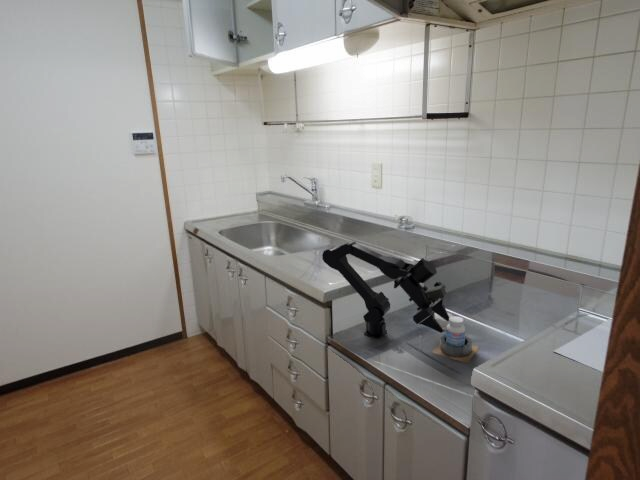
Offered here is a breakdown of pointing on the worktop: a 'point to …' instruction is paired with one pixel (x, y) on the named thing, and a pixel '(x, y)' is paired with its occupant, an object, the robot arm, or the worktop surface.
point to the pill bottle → (455, 331)
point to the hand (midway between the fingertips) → (445, 326)
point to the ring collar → (456, 348)
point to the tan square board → (464, 359)
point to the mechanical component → (442, 320)
